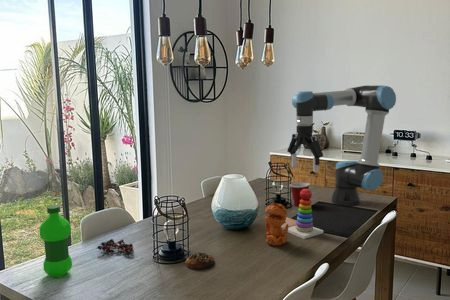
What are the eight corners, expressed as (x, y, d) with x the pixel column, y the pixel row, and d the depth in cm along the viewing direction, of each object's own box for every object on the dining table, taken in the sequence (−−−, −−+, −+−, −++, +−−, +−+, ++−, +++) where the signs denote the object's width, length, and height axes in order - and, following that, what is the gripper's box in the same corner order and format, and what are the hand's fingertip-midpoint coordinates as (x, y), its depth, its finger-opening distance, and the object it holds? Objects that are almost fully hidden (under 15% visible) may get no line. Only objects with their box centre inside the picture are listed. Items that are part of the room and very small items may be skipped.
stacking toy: (308, 233, 189) (309, 192, 186) (292, 230, 194) (292, 189, 191) (316, 228, 195) (317, 188, 192) (300, 225, 200) (301, 185, 197)
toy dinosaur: (256, 243, 182) (257, 201, 179) (272, 236, 190) (272, 196, 187) (278, 250, 174) (279, 207, 172) (293, 242, 182) (294, 201, 179)
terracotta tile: (283, 218, 214) (283, 216, 214) (301, 224, 204) (301, 222, 204) (265, 223, 207) (265, 220, 207) (282, 230, 197) (282, 227, 197)
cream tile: (303, 225, 203) (303, 223, 203) (323, 233, 193) (323, 230, 193) (285, 231, 196) (285, 228, 196) (304, 238, 186) (304, 236, 186)
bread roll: (204, 272, 155) (203, 258, 155) (179, 270, 161) (178, 256, 160) (220, 262, 165) (219, 249, 164) (196, 260, 170) (195, 247, 170)
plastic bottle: (79, 269, 159) (74, 203, 155) (62, 282, 148) (57, 212, 144) (55, 266, 161) (50, 201, 157) (36, 279, 151) (30, 210, 147)
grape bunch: (93, 256, 168) (94, 244, 168) (102, 245, 182) (103, 234, 182) (132, 260, 169) (133, 248, 168) (137, 248, 183) (138, 238, 183)
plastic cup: (294, 201, 243) (295, 180, 241) (312, 204, 237) (313, 183, 235) (285, 206, 234) (285, 184, 232) (303, 209, 228) (304, 187, 226)
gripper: (279, 123, 209) (280, 166, 213) (320, 127, 189) (320, 175, 193) (290, 122, 213) (291, 164, 217) (331, 126, 194) (330, 172, 198)
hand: (304, 169), depth 205 cm, fingers open, 13 cm apart
